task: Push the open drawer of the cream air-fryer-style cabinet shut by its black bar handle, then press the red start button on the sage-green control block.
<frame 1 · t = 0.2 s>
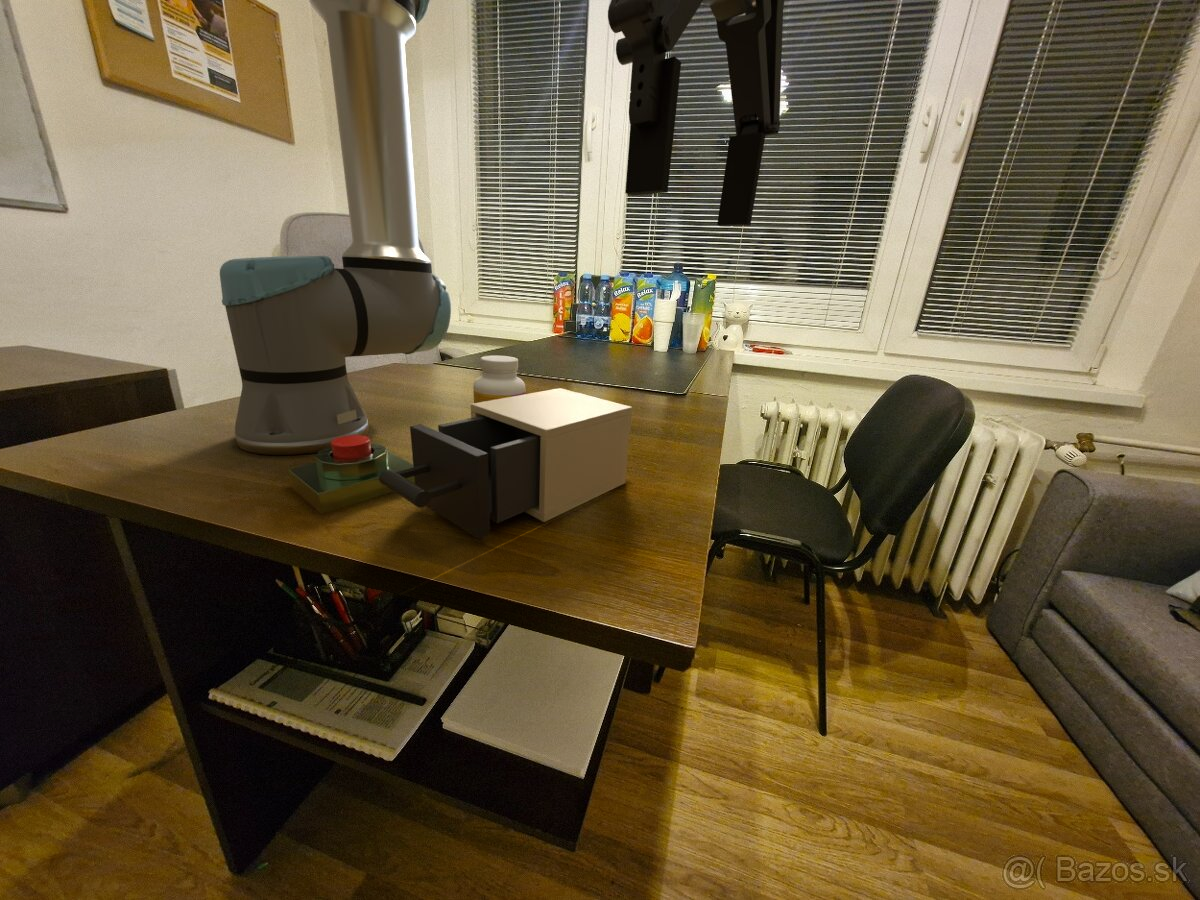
hand: (696, 212, 33), 28 cm above the table, tool pointing down, fingers open, 13 cm apart
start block: (357, 486, 48), on the table
drawer: (480, 468, 43), point 5 cm above the table, slide at 6.0 cm
supplement bottle: (500, 453, 60), on the table
start button: (351, 448, 46), point 4 cm above the table, slide at 0.1 cm
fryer: (551, 484, 52), on the table
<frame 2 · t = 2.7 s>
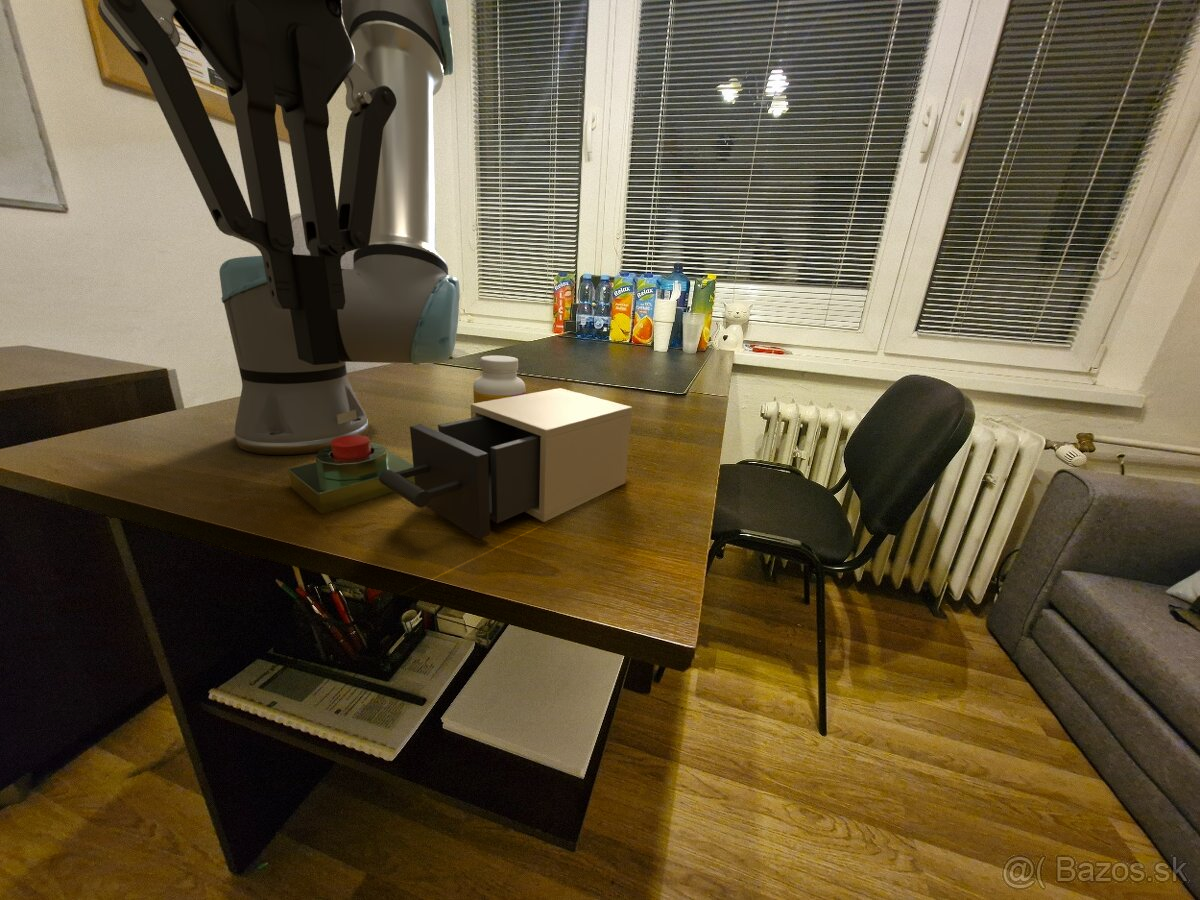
hand: (318, 360, 29), 16 cm above the table, tool pointing down, fingers closed
nothing on the table moved.
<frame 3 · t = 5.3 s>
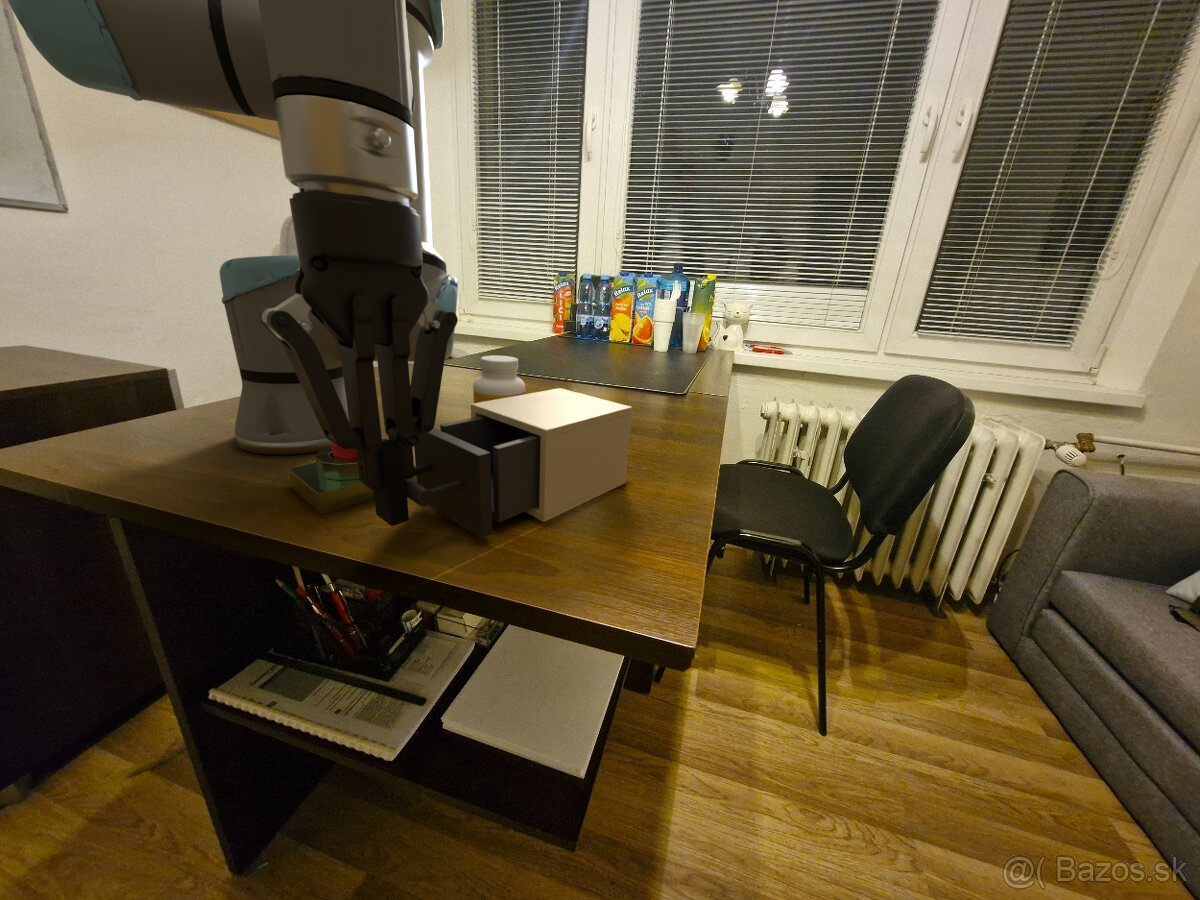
hand: (392, 517, 37), 3 cm above the table, tool pointing down, fingers closed
drawer: (482, 468, 43), point 5 cm above the table, slide at 5.8 cm, touching gripper
everything else where it was.
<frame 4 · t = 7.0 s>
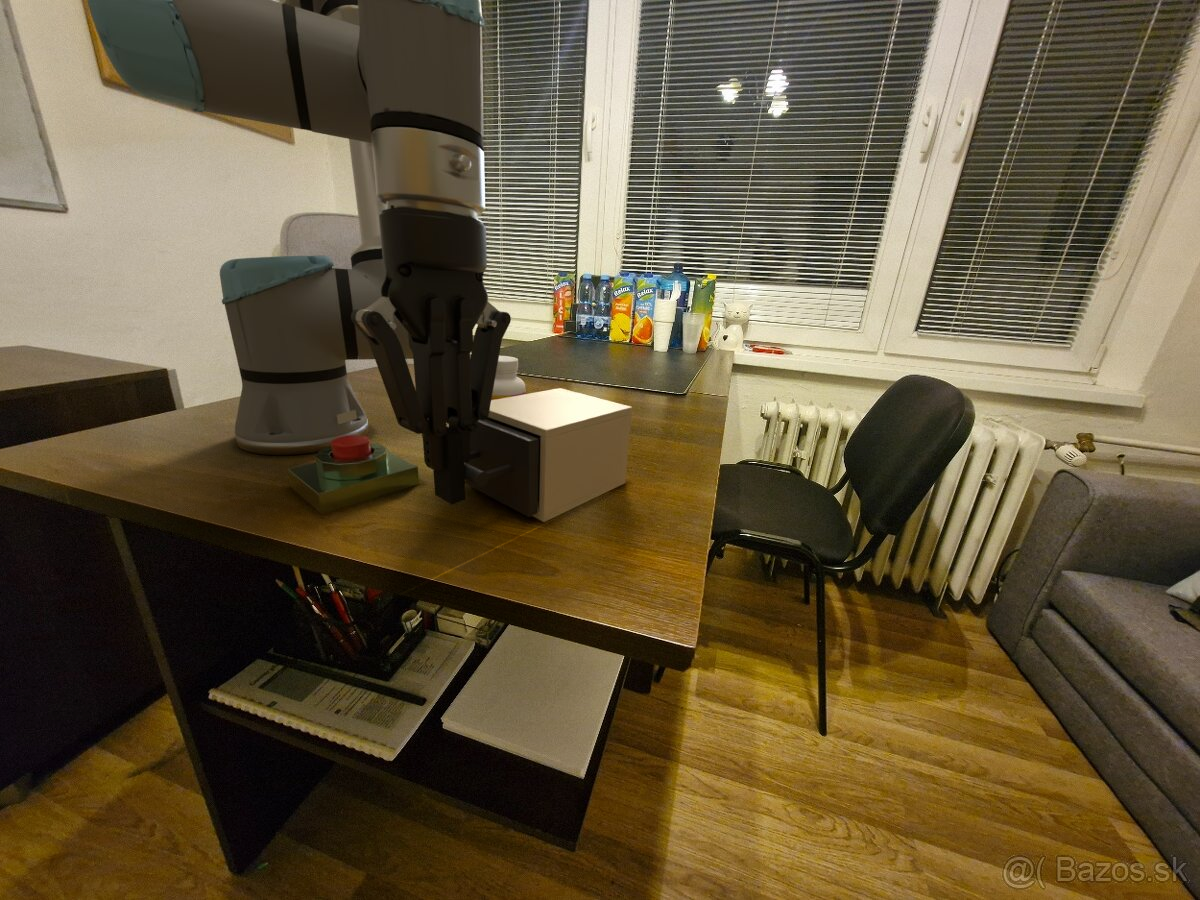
hand: (450, 497, 41), 3 cm above the table, tool pointing down, fingers closed
drawer: (525, 454, 47), point 5 cm above the table, slide at 0.3 cm, touching gripper
everything else where it was.
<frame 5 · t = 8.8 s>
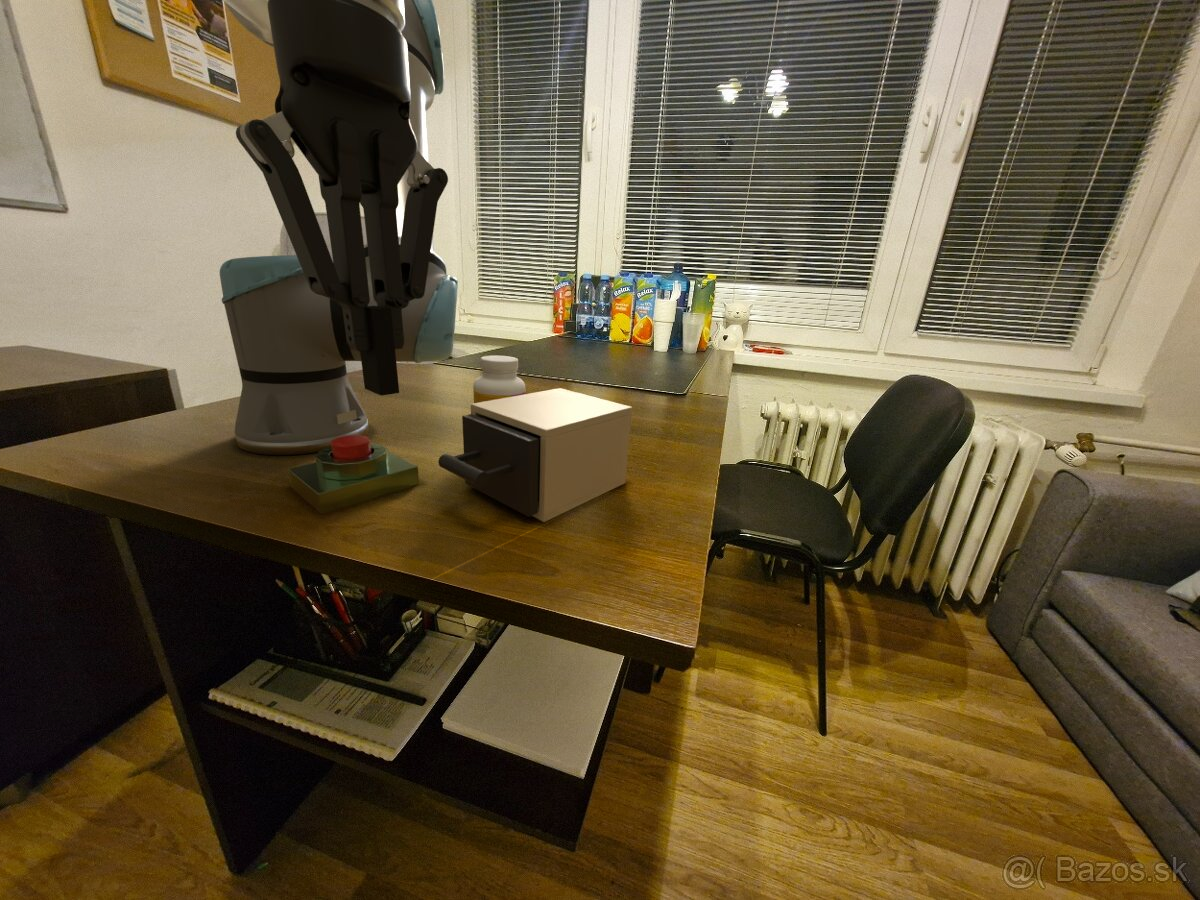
hand: (381, 390, 36), 13 cm above the table, tool pointing down, fingers closed
drawer: (525, 454, 47), point 5 cm above the table, slide at 0.3 cm
everything else where it was.
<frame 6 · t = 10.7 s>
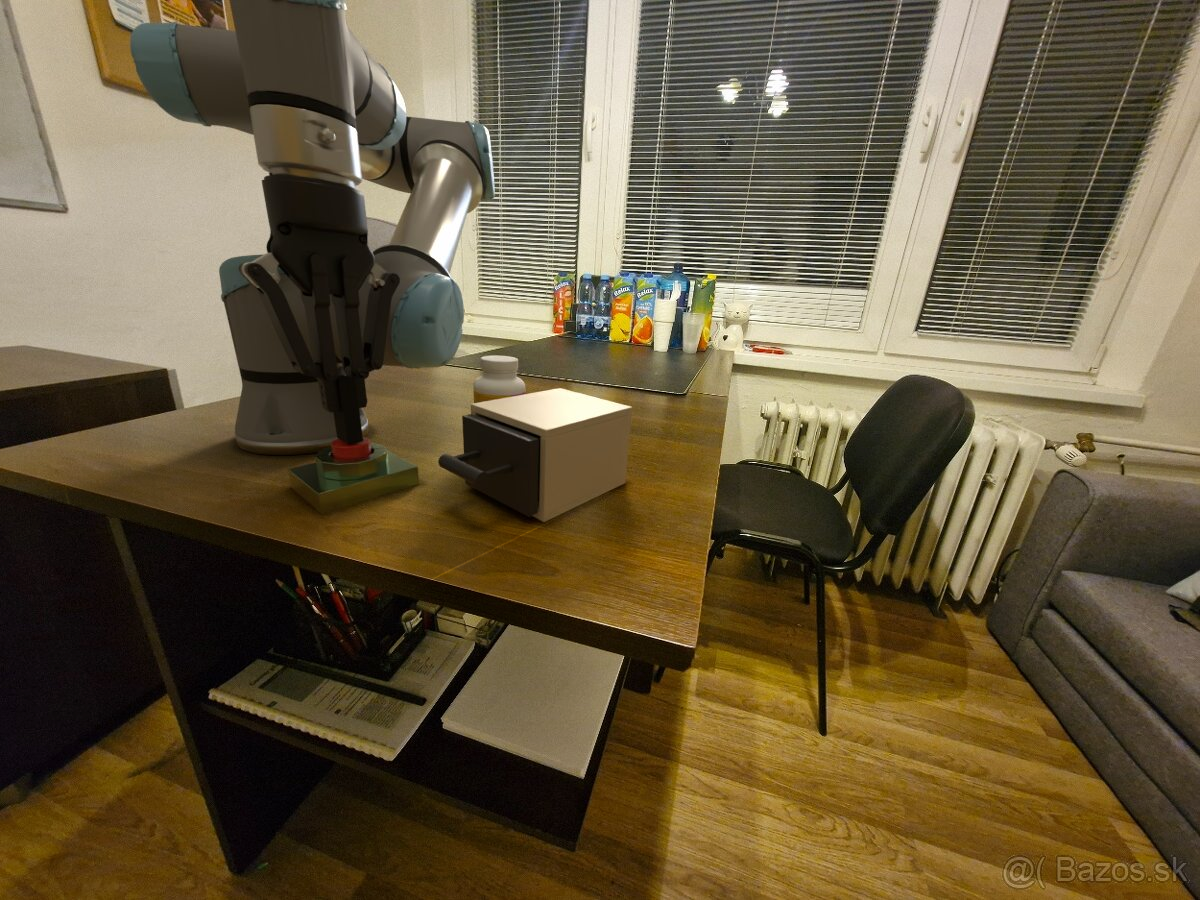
hand: (350, 439, 46), 5 cm above the table, tool pointing down, fingers closed
start button: (351, 449, 46), point 4 cm above the table, slide at 0.0 cm, touching gripper
everything else where it was.
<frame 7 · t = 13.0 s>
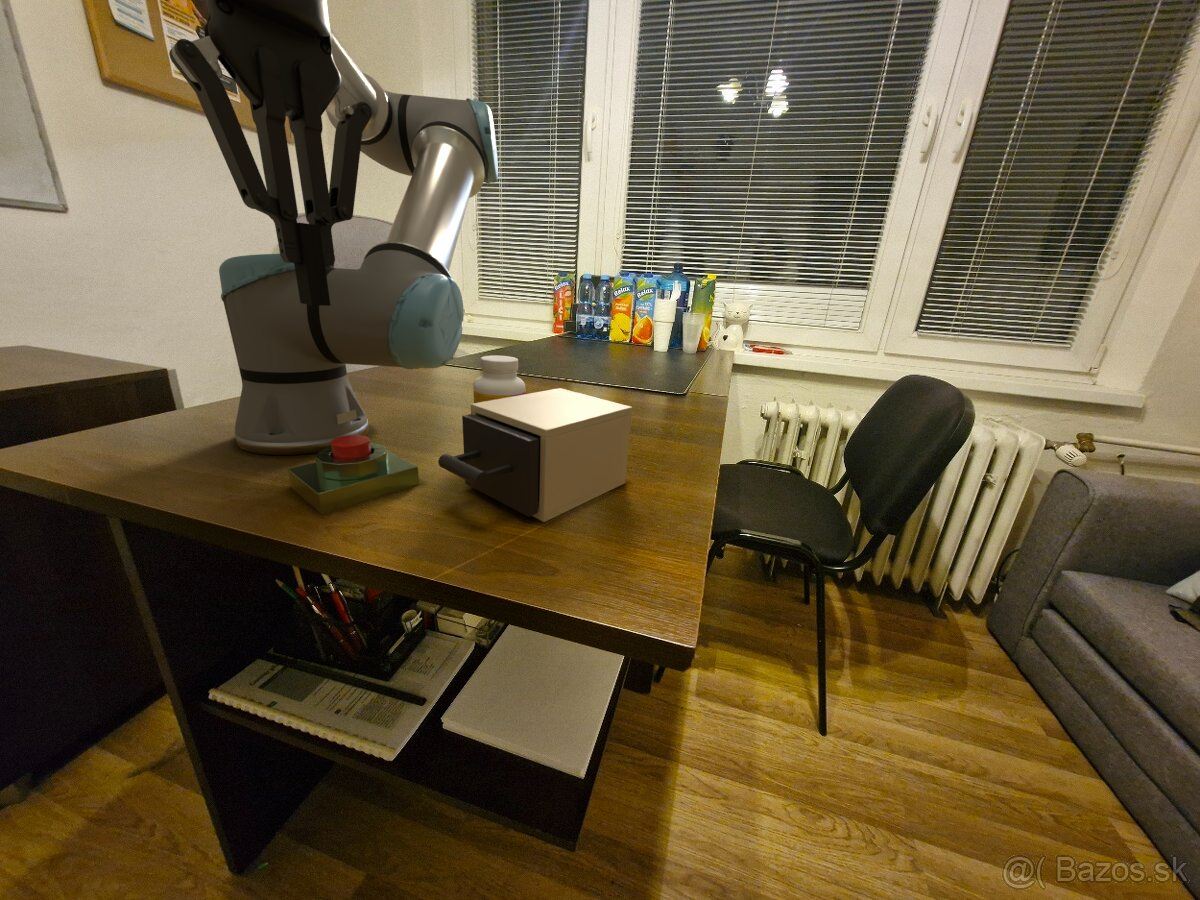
hand: (315, 304, 40), 19 cm above the table, tool pointing down, fingers closed
start button: (351, 448, 46), point 4 cm above the table, slide at 0.1 cm
everything else where it was.
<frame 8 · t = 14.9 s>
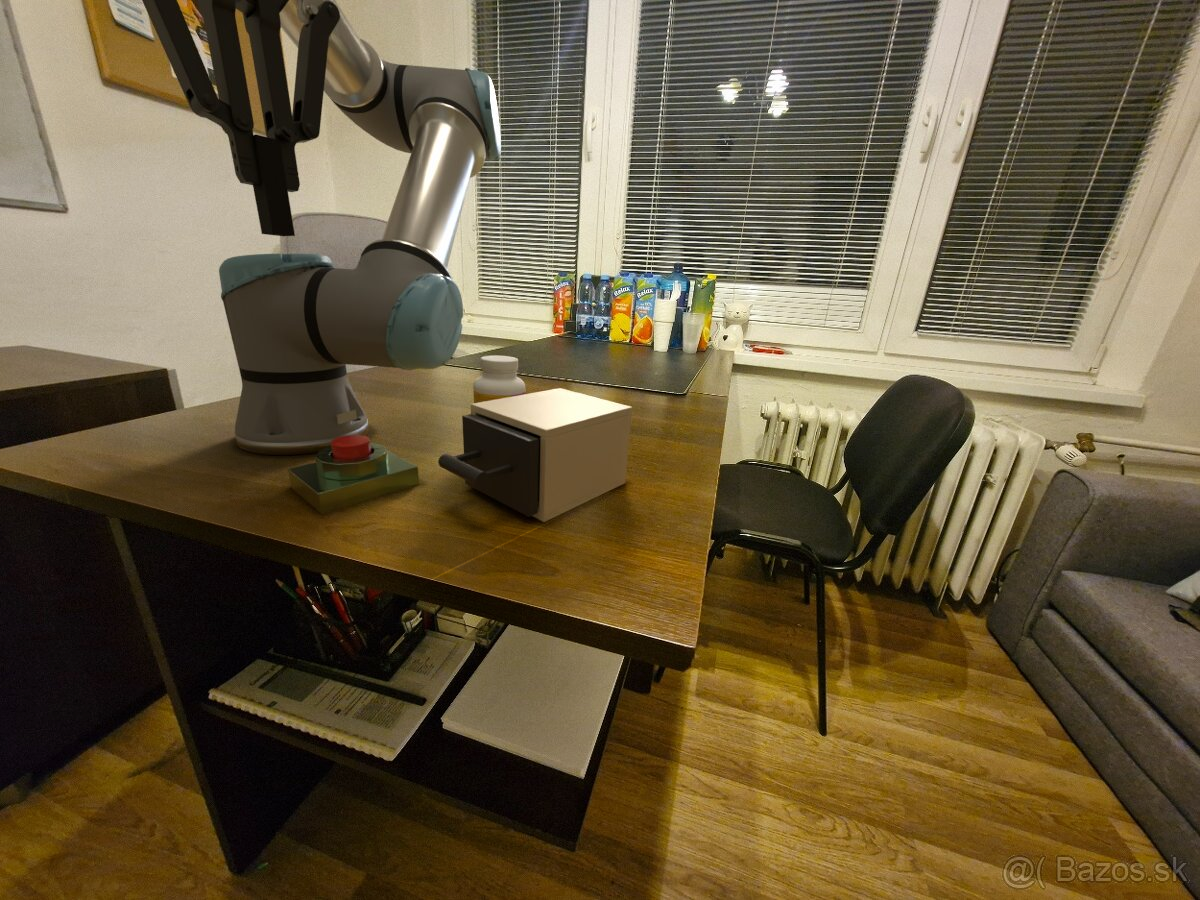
hand: (278, 234, 35), 24 cm above the table, tool pointing down, fingers closed
nothing on the table moved.
at the end: drawer slide at 0.3 cm; start button pushed in 1.0 cm at the most during the clip, back to where it started at the end; start button slide at 0.1 cm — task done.
